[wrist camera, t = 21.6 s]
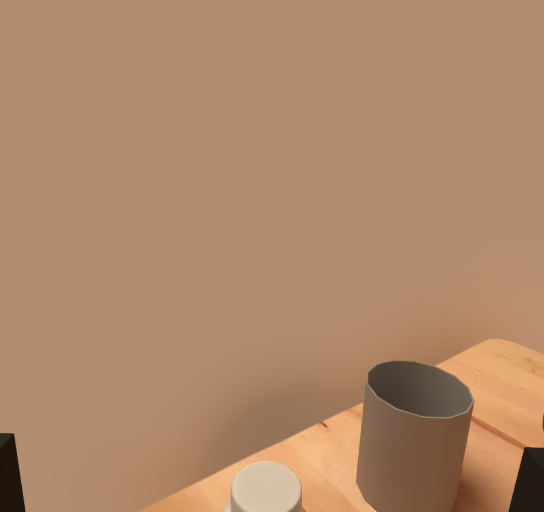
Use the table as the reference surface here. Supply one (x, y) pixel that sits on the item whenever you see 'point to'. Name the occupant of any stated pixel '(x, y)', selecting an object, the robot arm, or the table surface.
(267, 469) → the pill bottle
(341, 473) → the table surface
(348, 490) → the table surface
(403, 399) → the cup
